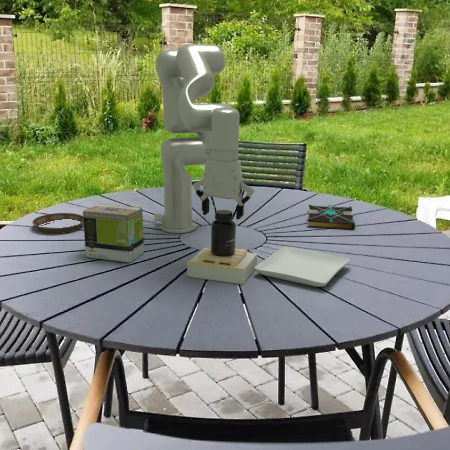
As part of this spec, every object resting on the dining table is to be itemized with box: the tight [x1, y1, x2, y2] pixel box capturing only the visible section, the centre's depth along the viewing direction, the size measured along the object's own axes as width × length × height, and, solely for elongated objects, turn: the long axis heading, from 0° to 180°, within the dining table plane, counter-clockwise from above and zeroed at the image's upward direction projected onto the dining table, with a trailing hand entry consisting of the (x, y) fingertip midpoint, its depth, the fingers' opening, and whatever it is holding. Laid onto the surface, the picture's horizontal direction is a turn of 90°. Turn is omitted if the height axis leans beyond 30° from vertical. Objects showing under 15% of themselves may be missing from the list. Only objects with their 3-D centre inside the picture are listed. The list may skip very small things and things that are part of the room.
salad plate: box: [254, 245, 350, 288], centre depth 163 cm, size 21×21×3 cm
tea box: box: [82, 203, 145, 264], centre depth 172 cm, size 15×10×15 cm
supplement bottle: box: [210, 209, 237, 257], centre depth 159 cm, size 7×7×12 cm
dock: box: [186, 245, 258, 285], centre depth 162 cm, size 16×14×6 cm
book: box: [306, 203, 356, 231], centre depth 212 cm, size 22×17×5 cm
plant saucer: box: [32, 212, 84, 234], centre depth 200 cm, size 18×18×3 cm
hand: (222, 215), depth 159 cm, fingers open, 9 cm apart
